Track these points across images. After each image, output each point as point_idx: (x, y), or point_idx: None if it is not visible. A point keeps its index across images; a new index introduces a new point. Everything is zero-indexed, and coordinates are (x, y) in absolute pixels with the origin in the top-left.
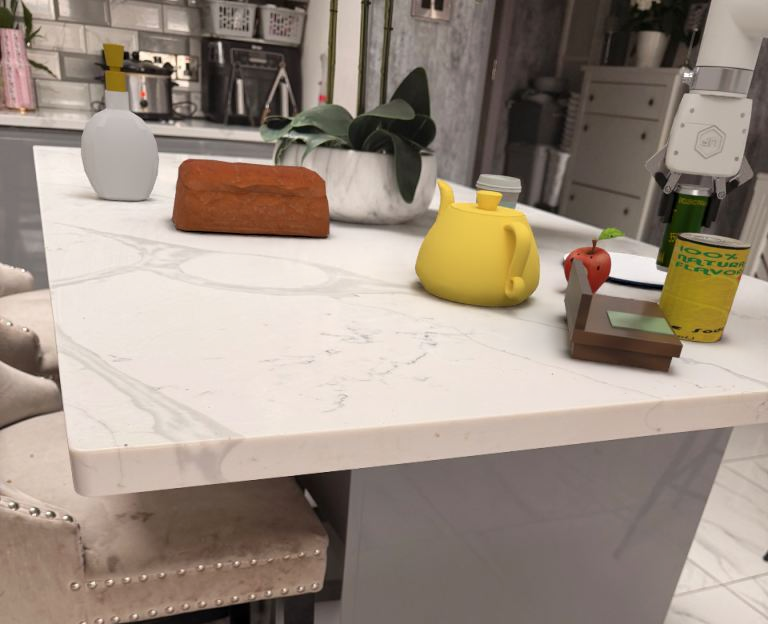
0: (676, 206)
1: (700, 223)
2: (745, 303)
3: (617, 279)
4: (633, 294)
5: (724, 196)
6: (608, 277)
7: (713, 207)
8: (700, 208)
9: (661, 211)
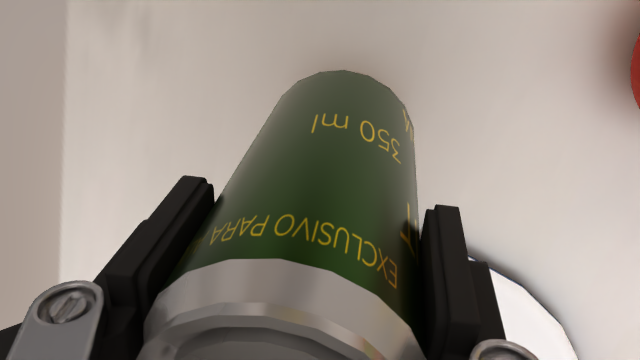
0: (405, 252)
1: (240, 174)
2: (98, 187)
3: (469, 256)
4: (444, 142)
5: (48, 290)
6: (494, 270)
7: (147, 237)
8: (241, 207)
9: (478, 270)
